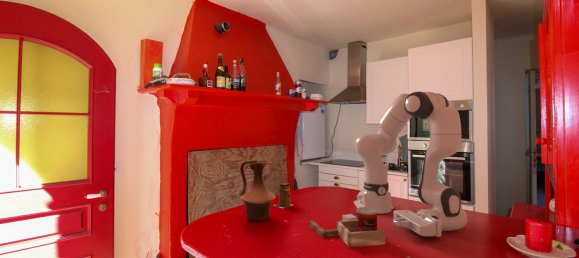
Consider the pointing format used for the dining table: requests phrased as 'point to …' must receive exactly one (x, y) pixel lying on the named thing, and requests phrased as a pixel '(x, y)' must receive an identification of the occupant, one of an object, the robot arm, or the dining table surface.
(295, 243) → the dining table surface
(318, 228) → the crook tool
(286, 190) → the condiment
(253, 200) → the pitcher
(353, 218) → the block
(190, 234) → the dining table surface
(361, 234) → the cubby
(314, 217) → the dining table surface
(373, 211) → the canned food
